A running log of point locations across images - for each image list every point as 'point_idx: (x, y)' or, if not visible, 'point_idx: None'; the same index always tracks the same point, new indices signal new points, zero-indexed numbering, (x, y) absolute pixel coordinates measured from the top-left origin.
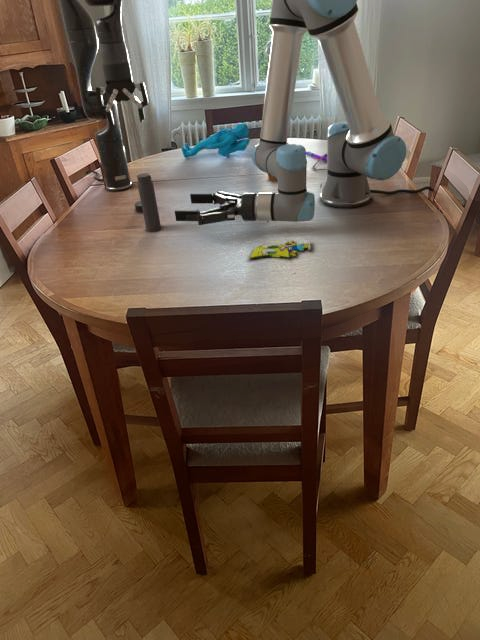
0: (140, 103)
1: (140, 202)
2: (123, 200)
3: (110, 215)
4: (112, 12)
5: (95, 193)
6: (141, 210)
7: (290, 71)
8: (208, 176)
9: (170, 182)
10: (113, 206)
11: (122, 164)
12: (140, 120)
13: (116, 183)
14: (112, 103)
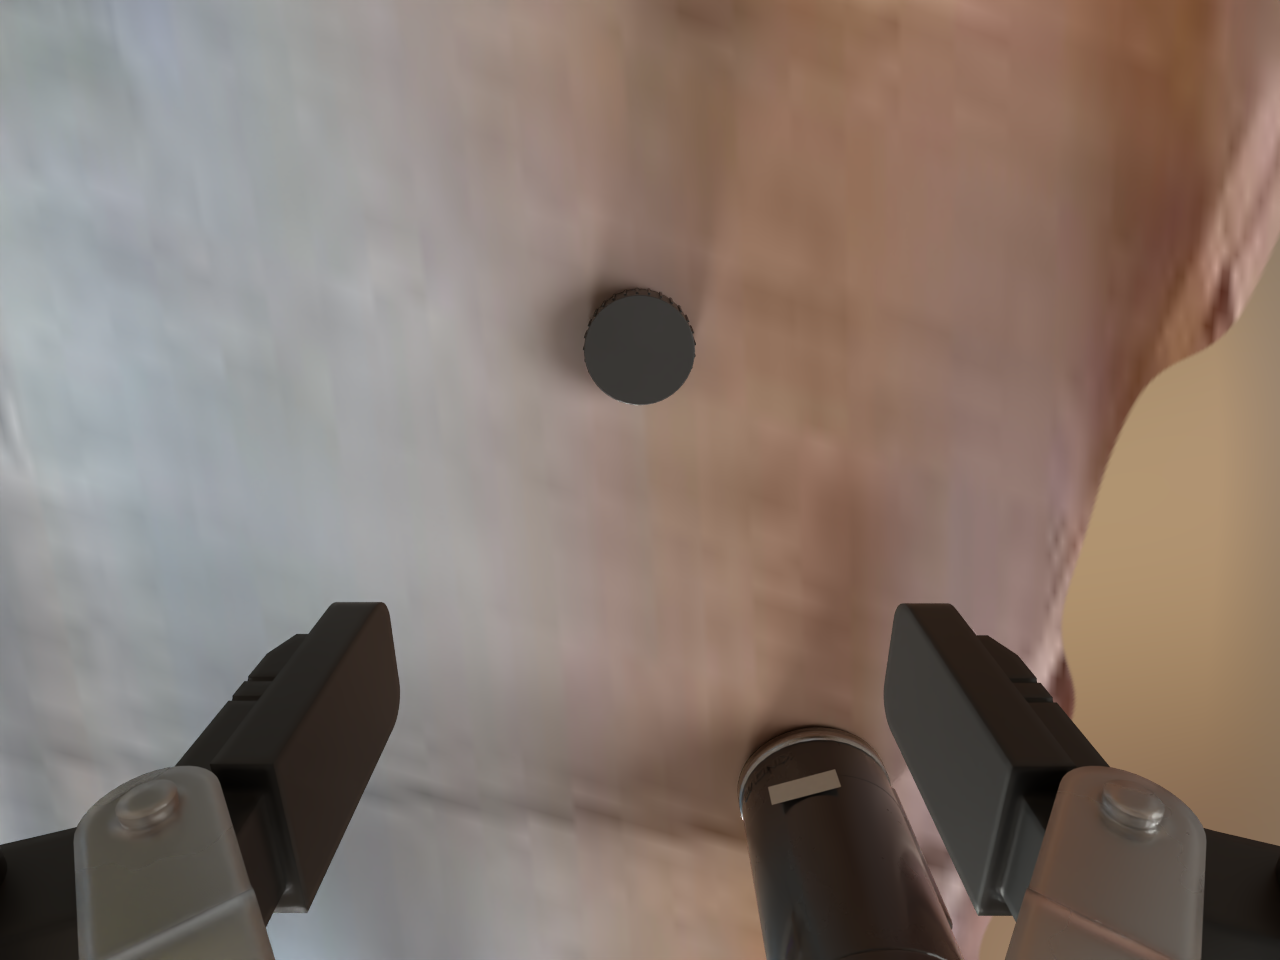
0: (77, 871)
1: (657, 369)
2: (781, 560)
3: (858, 307)
4: None
5: None
6: (652, 292)
7: None
8: None
9: (509, 775)
10: (841, 472)
11: (789, 867)
12: (362, 607)
13: (828, 760)
14: (1025, 918)
